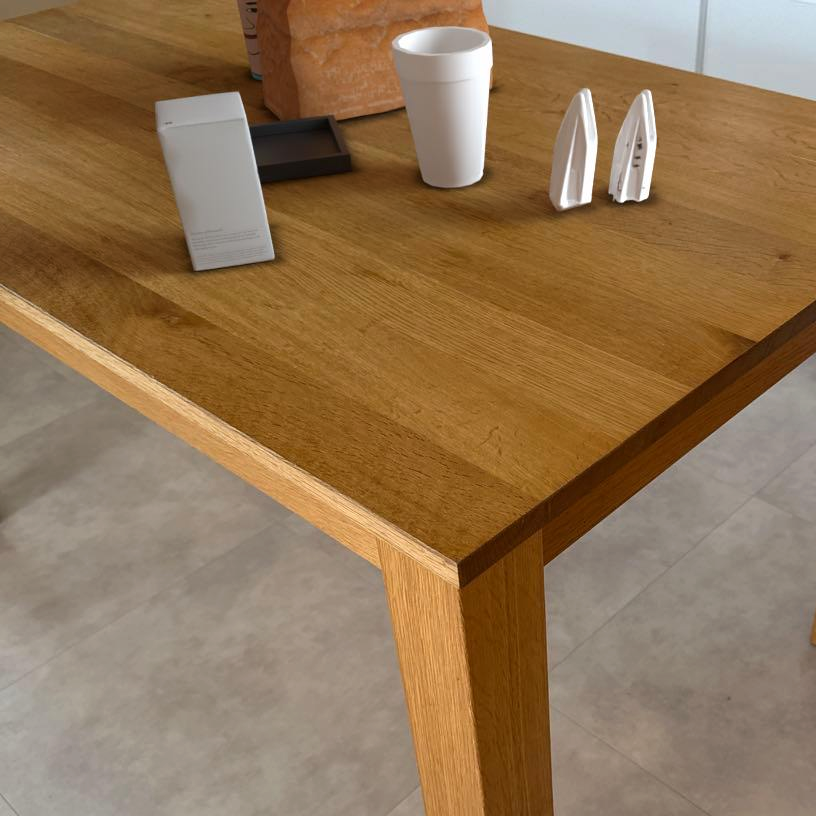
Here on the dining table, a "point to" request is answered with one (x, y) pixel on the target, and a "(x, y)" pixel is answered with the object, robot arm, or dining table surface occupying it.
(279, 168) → the black rectangular tray
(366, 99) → the bread
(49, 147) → the dining table surface
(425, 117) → the foam cup
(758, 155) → the dining table surface
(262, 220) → the white packaging box
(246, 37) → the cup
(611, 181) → the shaker set
